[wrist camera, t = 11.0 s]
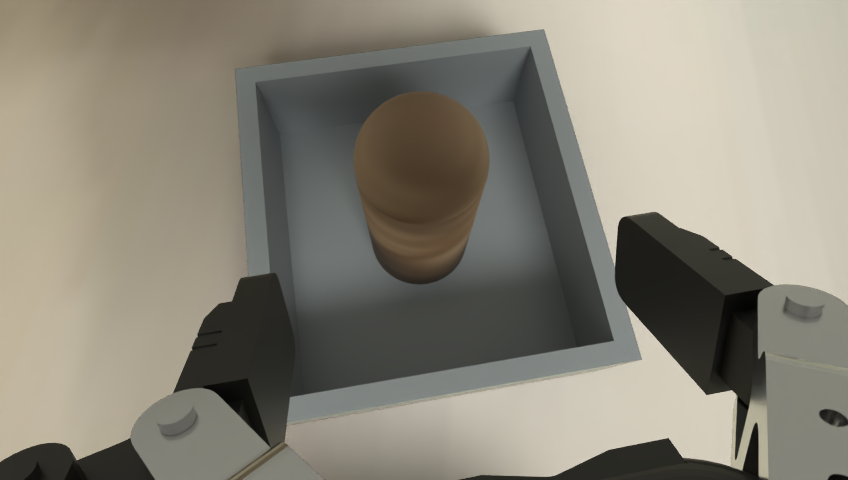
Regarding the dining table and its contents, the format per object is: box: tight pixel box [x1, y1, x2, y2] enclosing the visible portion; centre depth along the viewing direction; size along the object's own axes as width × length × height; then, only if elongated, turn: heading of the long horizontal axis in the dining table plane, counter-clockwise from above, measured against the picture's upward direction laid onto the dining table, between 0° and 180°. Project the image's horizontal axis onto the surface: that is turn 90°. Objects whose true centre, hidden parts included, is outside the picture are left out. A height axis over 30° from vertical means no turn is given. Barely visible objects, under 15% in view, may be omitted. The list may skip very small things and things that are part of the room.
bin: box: [235, 29, 642, 425], centre depth 23 cm, size 14×15×5 cm
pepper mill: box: [353, 91, 490, 284], centre depth 20 cm, size 4×4×10 cm
